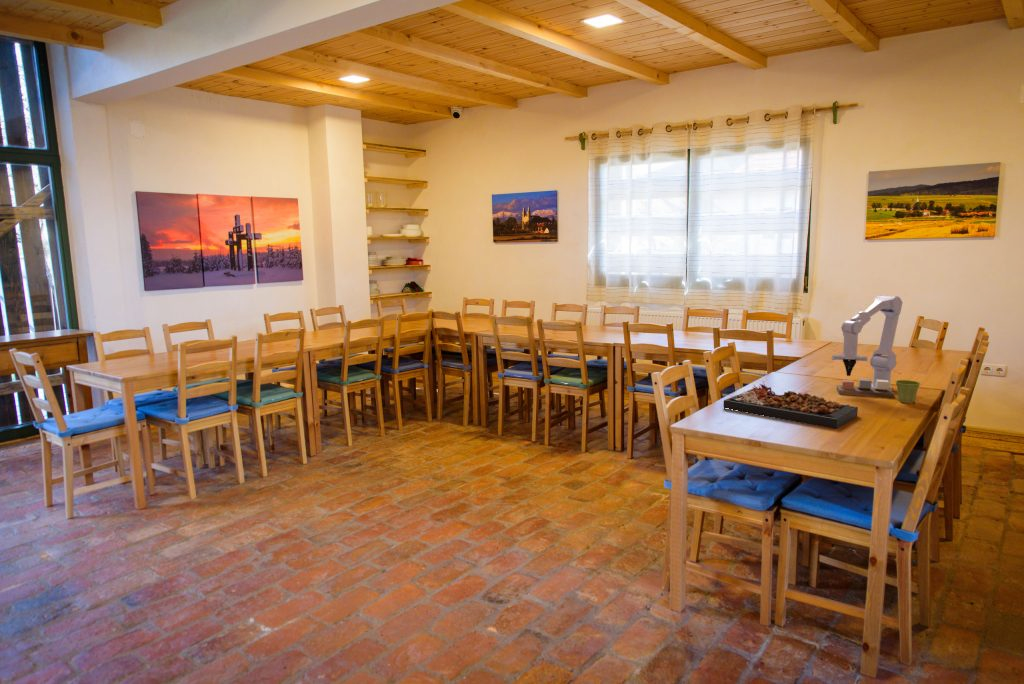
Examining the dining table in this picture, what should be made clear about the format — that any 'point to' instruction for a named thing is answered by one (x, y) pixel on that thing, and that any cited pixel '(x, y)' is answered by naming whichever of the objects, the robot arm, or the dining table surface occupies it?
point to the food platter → (792, 407)
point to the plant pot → (907, 390)
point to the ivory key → (882, 384)
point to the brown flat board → (866, 392)
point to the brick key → (848, 384)
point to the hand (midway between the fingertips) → (848, 375)
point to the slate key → (864, 383)
